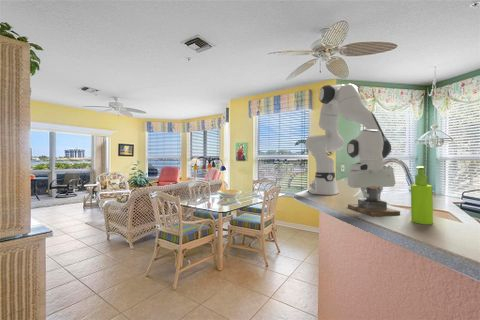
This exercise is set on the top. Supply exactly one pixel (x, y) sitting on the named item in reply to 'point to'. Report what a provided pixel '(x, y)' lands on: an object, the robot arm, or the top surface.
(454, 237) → the top surface
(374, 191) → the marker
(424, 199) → the soap dispenser
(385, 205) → the wooden socket board
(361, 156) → the robot arm
